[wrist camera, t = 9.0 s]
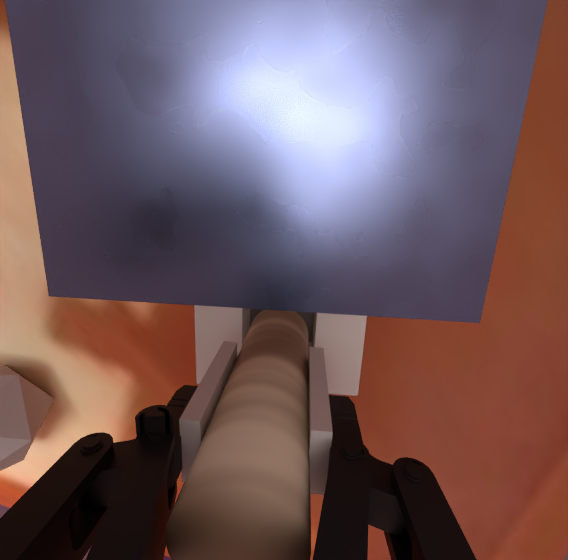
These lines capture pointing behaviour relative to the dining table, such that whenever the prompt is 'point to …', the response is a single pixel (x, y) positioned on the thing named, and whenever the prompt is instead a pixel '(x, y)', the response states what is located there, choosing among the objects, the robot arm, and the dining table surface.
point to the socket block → (321, 333)
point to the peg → (253, 456)
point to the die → (19, 415)
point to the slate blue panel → (274, 149)
